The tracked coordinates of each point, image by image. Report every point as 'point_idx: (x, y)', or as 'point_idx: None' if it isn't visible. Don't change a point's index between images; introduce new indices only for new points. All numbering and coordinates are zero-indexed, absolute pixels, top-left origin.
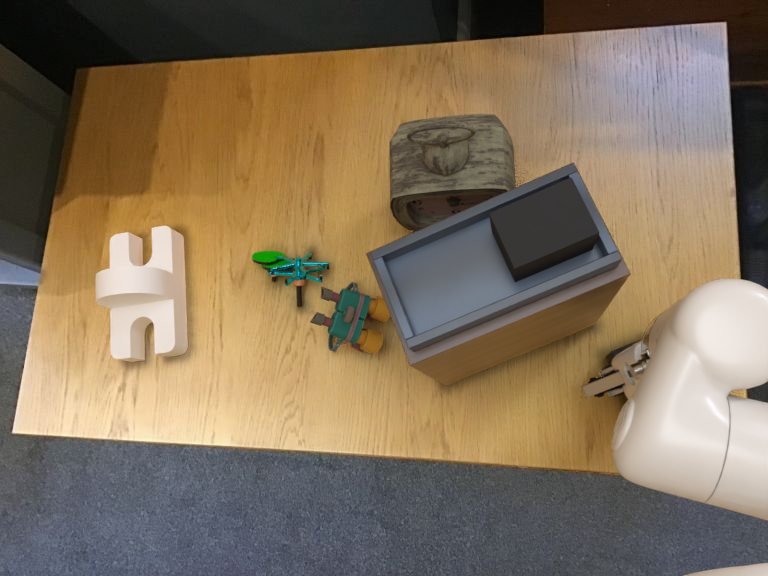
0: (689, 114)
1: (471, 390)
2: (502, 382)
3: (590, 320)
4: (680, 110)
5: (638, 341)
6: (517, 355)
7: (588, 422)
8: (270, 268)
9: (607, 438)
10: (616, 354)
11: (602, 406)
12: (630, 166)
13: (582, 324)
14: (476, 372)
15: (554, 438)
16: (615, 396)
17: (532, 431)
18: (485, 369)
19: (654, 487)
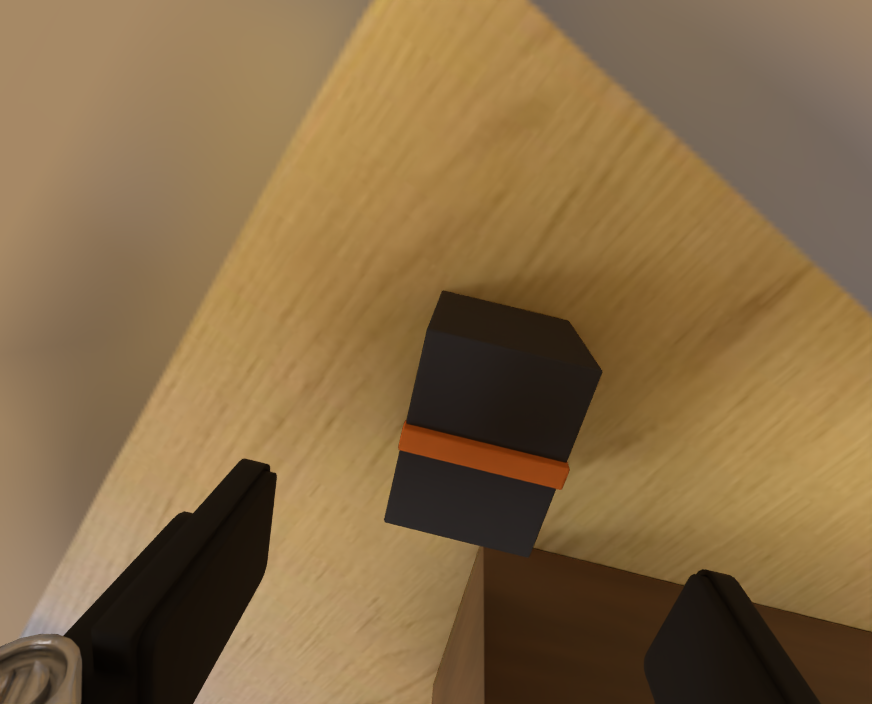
0: None
1: (862, 597)
2: (782, 568)
3: (521, 692)
4: None
5: (433, 533)
6: None
7: (696, 364)
8: None
9: (692, 294)
10: (521, 544)
11: (627, 376)
12: (211, 693)
13: (546, 679)
14: (828, 640)
15: (814, 385)
16: (759, 613)
17: (844, 436)
18: (790, 616)
19: None
